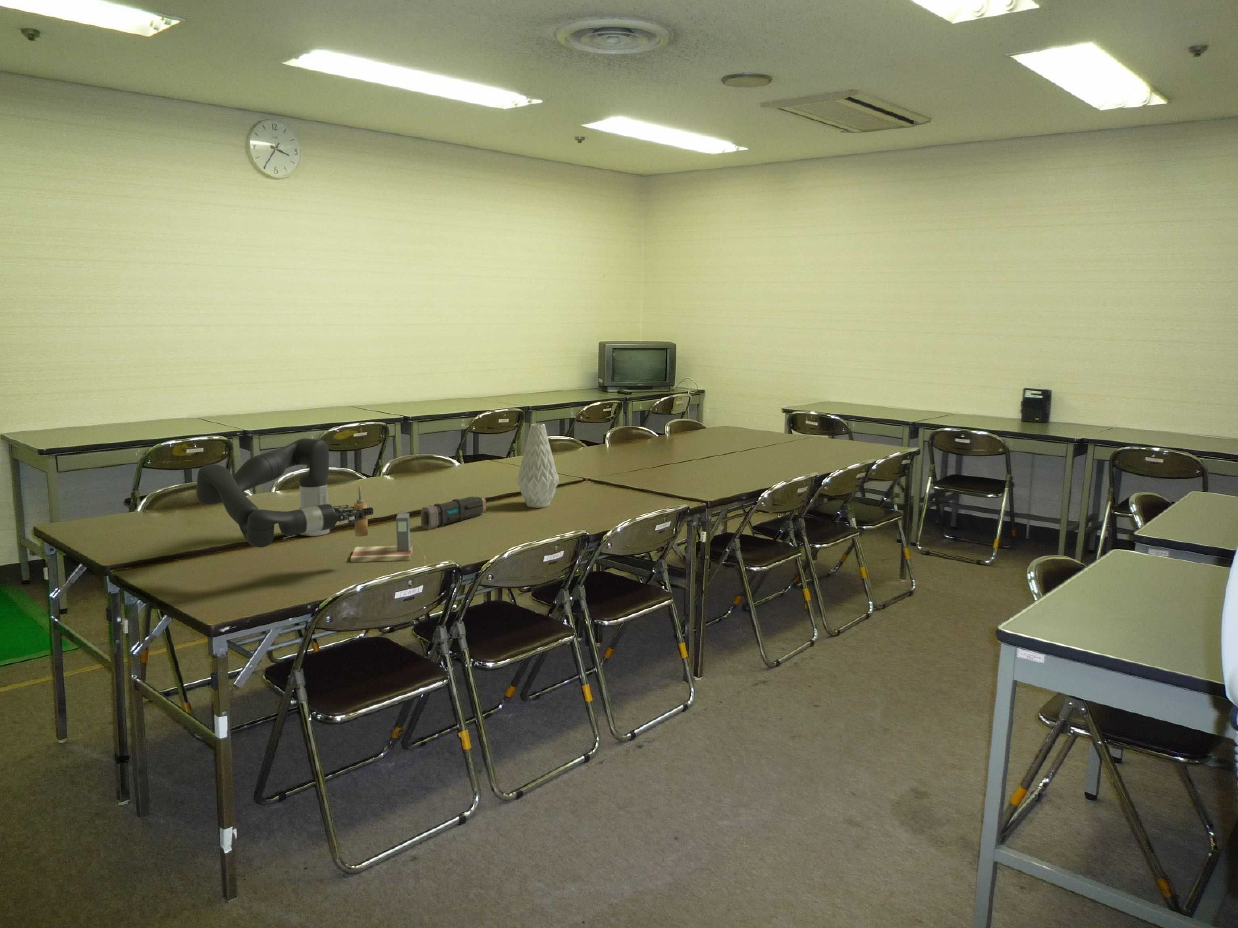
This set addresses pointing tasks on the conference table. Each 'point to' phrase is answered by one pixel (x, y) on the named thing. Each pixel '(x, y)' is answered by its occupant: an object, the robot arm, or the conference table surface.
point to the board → (380, 554)
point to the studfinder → (403, 531)
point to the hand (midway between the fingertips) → (368, 509)
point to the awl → (362, 524)
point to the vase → (537, 469)
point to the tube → (451, 512)
